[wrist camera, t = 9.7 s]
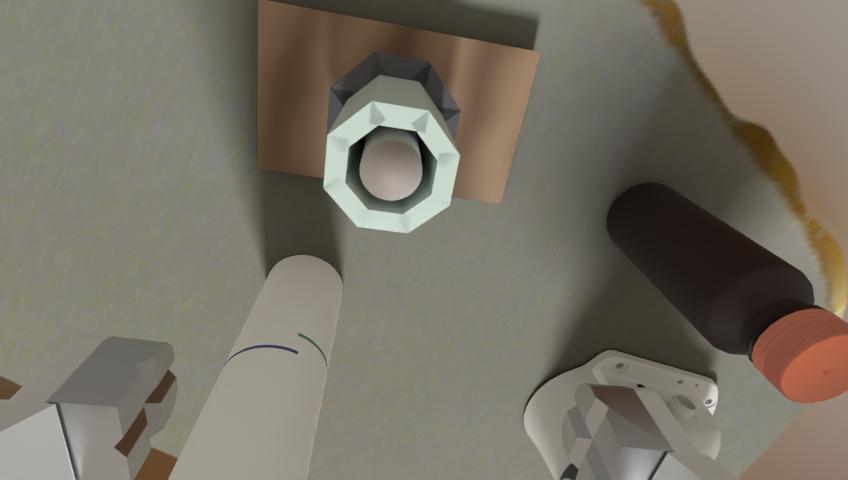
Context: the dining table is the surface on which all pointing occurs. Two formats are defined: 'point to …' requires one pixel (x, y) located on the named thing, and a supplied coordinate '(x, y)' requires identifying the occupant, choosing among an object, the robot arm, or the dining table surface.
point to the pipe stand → (385, 146)
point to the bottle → (734, 291)
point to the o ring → (398, 69)
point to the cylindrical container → (270, 381)
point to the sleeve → (361, 114)
